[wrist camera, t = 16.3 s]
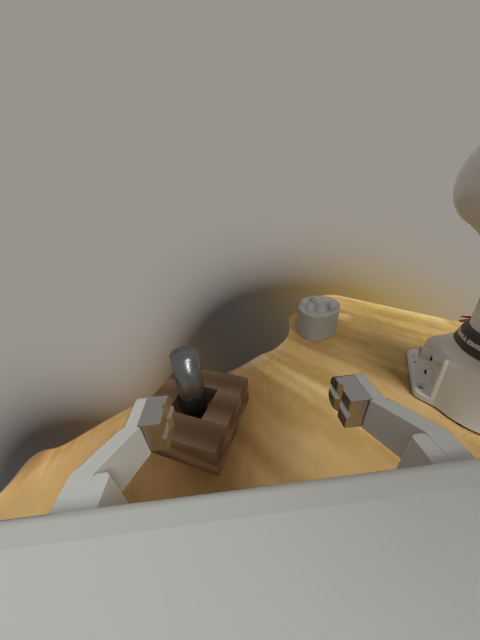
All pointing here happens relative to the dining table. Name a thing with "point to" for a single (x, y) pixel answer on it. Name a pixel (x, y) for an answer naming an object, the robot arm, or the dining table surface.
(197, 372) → the dark grey rounded rod
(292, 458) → the dining table surface
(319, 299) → the lumpy-topped squat cylinder
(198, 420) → the socket block
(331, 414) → the dining table surface
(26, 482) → the dining table surface
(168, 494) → the dining table surface
